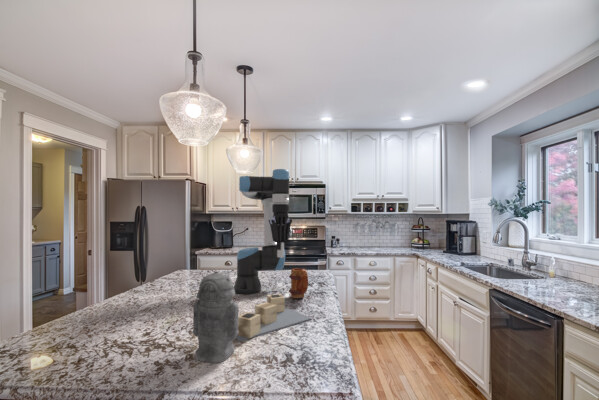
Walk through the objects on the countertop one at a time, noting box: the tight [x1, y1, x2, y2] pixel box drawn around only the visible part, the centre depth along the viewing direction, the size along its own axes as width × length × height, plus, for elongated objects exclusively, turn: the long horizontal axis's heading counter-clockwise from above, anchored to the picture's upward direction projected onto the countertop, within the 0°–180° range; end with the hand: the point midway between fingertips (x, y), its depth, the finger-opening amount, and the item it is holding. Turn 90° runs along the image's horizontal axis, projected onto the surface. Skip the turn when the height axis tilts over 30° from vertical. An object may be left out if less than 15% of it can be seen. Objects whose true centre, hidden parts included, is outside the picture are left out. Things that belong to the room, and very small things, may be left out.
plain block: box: [254, 301, 277, 325], centre depth 114 cm, size 6×6×6 cm
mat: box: [234, 306, 312, 342], centre depth 114 cm, size 20×32×1 cm, turn 129°
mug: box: [288, 267, 309, 299], centre depth 145 cm, size 15×8×15 cm, turn 25°
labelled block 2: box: [266, 293, 285, 312], centre depth 126 cm, size 6×6×6 cm
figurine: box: [192, 270, 240, 364], centre depth 88 cm, size 10×14×25 cm
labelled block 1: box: [238, 311, 260, 339], centre depth 102 cm, size 6×6×6 cm
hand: (280, 257), depth 128 cm, fingers closed
